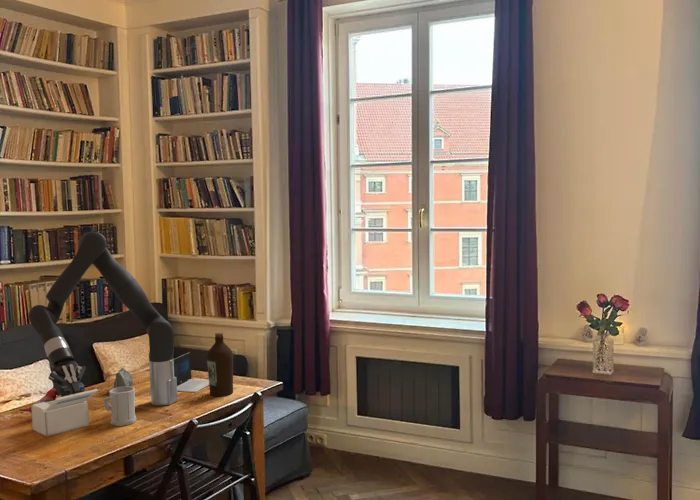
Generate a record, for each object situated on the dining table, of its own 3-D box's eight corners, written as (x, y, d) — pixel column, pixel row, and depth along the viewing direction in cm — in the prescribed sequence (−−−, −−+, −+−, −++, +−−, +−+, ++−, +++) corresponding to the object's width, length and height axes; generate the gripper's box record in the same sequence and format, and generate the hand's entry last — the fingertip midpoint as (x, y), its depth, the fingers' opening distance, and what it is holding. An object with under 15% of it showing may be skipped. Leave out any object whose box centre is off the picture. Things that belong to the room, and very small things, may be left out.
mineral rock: (127, 384, 293) (126, 362, 293) (145, 387, 288) (144, 364, 288) (104, 392, 282) (103, 369, 281) (123, 395, 277) (121, 371, 276)
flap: (46, 408, 227) (56, 398, 221) (86, 398, 238) (97, 388, 231) (47, 410, 227) (57, 400, 221) (87, 400, 237) (97, 390, 231)
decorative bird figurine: (62, 412, 255) (60, 386, 254) (22, 427, 239) (20, 399, 238) (56, 411, 256) (55, 386, 255) (16, 426, 240) (15, 399, 239)
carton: (32, 429, 236) (30, 404, 236) (74, 418, 247) (72, 394, 246) (46, 436, 228) (45, 411, 227) (89, 425, 239) (87, 400, 238)
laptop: (195, 393, 277) (194, 362, 276) (169, 392, 281) (167, 361, 280) (216, 382, 294) (215, 352, 294) (191, 380, 298) (189, 351, 297)
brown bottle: (227, 388, 282) (224, 329, 281) (239, 393, 274) (236, 333, 272) (203, 393, 276) (201, 333, 274) (215, 398, 268) (213, 337, 266)
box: (64, 415, 251) (62, 388, 250) (61, 412, 256) (59, 384, 255) (86, 411, 255) (84, 384, 255) (83, 408, 260) (81, 381, 259)
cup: (107, 428, 234) (105, 395, 234) (104, 421, 243) (102, 389, 242) (138, 423, 239) (136, 390, 238) (134, 416, 247) (132, 384, 247)
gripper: (42, 349, 227) (59, 391, 220) (80, 343, 237) (98, 382, 229) (36, 363, 231) (54, 404, 224) (74, 356, 241) (92, 395, 233)
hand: (76, 393), depth 227 cm, fingers closed
